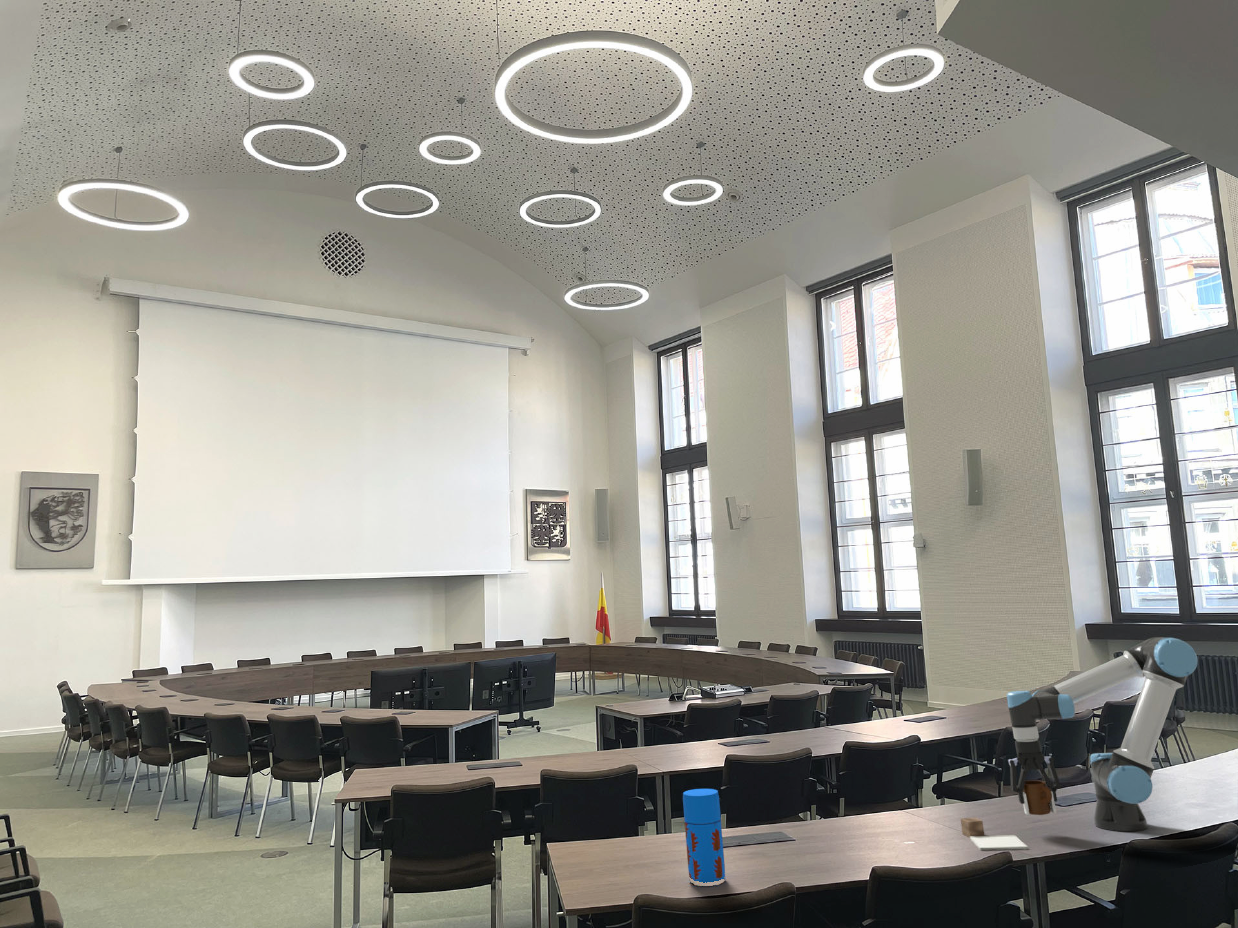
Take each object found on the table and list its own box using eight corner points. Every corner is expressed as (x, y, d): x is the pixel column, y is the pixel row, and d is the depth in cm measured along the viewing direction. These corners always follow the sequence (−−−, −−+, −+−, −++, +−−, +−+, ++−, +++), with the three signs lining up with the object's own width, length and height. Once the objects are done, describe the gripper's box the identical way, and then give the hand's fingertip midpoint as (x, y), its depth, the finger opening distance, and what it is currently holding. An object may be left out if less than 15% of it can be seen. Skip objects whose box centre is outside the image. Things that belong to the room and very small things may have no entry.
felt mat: (1015, 837, 271) (1015, 835, 271) (1028, 849, 258) (1028, 846, 258) (970, 838, 273) (969, 836, 274) (980, 850, 260) (980, 847, 260)
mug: (1065, 816, 266) (1059, 784, 268) (1043, 819, 265) (1038, 787, 266) (1041, 808, 278) (1036, 778, 279) (1020, 811, 276) (1015, 781, 278)
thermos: (723, 874, 253) (715, 787, 258) (728, 885, 243) (721, 794, 247) (687, 877, 253) (680, 790, 257) (691, 888, 242) (684, 797, 247)
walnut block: (976, 833, 280) (974, 817, 281) (984, 836, 275) (982, 820, 276) (962, 834, 279) (960, 818, 280) (970, 838, 274) (967, 821, 275)
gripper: (1055, 735, 278) (1069, 808, 273) (991, 740, 281) (1004, 812, 276) (1063, 738, 271) (1078, 813, 266) (997, 743, 274) (1010, 817, 269)
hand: (1040, 812), depth 271 cm, fingers closed on mug, 7 cm apart
